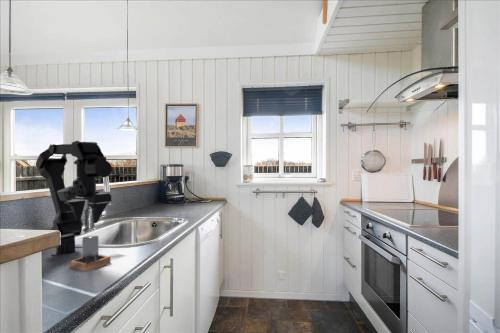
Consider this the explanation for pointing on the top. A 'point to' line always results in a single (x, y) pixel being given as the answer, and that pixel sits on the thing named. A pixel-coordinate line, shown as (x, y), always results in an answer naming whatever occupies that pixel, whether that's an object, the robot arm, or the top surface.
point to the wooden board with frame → (86, 267)
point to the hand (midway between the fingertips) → (86, 222)
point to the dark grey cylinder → (90, 249)
